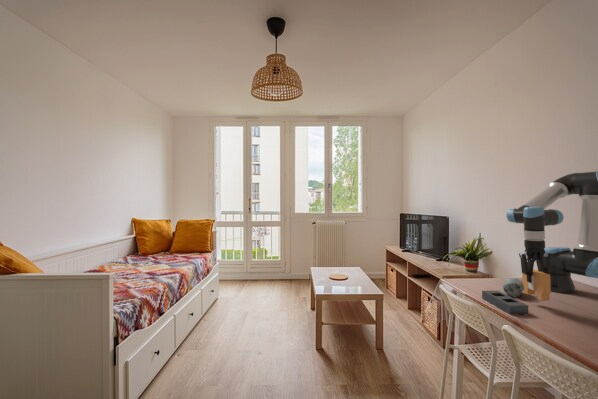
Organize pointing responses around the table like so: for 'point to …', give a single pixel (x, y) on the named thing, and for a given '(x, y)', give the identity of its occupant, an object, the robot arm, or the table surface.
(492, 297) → the cinder block
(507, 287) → the spool
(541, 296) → the wooden arch block
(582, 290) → the table surface
